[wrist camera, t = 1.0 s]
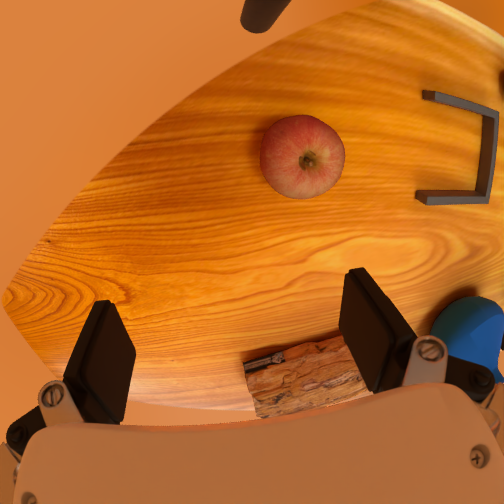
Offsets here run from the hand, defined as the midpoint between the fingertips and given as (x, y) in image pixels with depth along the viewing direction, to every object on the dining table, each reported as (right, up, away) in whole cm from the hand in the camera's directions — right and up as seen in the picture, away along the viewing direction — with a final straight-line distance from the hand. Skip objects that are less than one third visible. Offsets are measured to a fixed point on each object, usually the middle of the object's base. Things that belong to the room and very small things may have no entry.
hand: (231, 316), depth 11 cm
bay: (+29, +16, +19) cm, 38 cm away
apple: (+5, +13, +18) cm, 23 cm away
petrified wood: (+10, -15, +34) cm, 39 cm away
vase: (+41, -11, +36) cm, 55 cm away
